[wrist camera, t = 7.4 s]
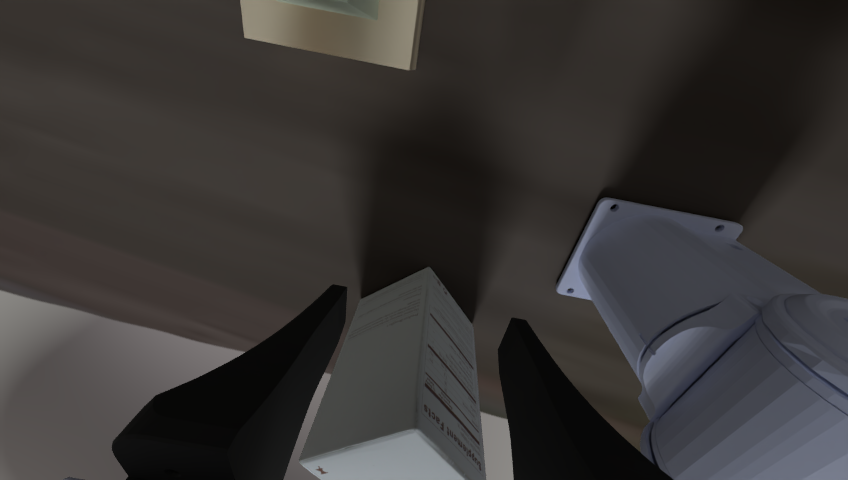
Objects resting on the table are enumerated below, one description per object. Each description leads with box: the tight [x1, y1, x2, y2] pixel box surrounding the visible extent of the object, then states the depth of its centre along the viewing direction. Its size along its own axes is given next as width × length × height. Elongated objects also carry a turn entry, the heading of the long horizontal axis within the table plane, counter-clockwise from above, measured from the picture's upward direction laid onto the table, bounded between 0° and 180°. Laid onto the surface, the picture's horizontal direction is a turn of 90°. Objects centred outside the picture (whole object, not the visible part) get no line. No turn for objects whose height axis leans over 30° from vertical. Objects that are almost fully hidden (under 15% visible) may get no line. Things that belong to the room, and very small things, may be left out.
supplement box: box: [299, 267, 486, 480], centre depth 21 cm, size 7×7×13 cm
